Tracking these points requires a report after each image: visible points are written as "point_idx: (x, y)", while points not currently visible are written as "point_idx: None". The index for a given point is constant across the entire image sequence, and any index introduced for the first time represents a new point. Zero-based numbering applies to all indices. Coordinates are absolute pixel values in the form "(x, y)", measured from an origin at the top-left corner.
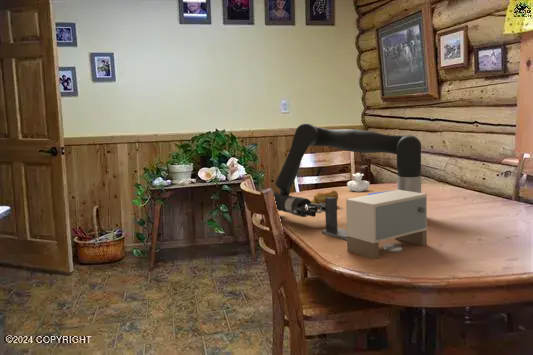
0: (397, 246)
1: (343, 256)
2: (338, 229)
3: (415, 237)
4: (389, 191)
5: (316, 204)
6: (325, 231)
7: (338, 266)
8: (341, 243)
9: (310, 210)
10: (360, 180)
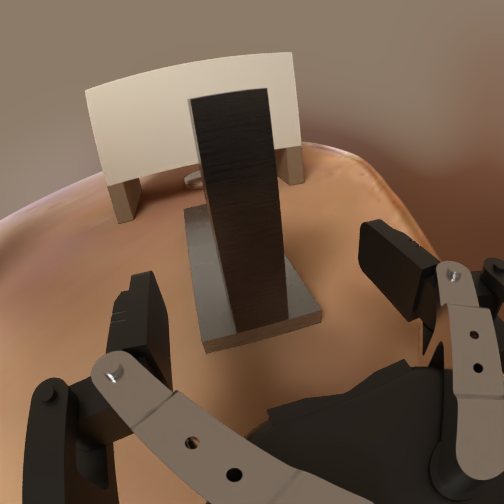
0: (199, 172)
1: (325, 170)
2: (219, 301)
3: (136, 182)
4: (122, 78)
5: (243, 443)
6: (306, 289)
7: (347, 155)
8: (293, 212)
9: (408, 242)
10: None
